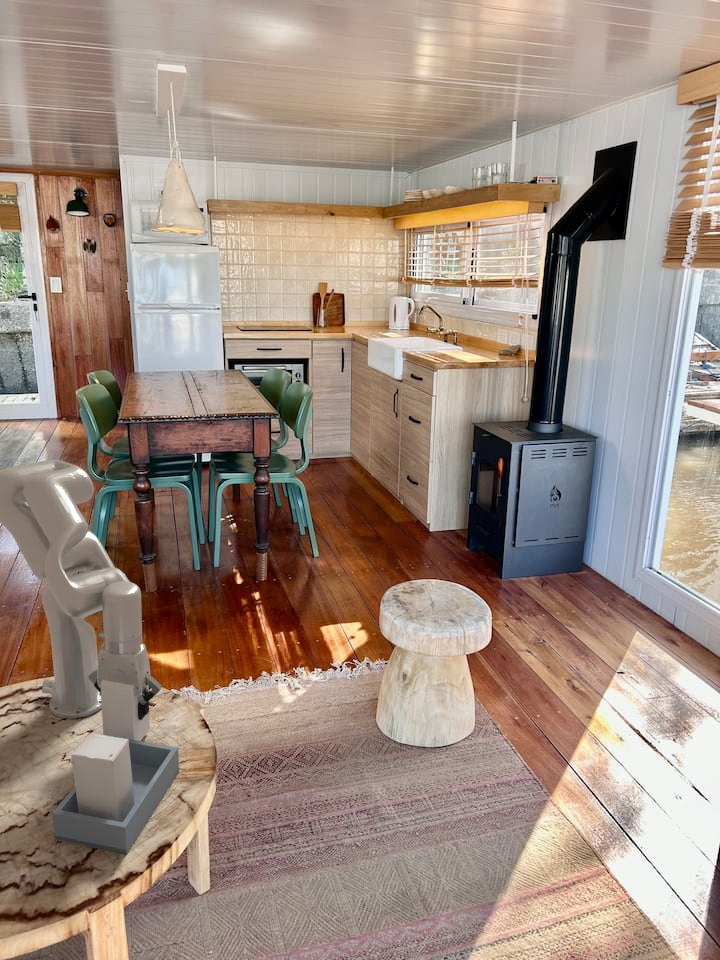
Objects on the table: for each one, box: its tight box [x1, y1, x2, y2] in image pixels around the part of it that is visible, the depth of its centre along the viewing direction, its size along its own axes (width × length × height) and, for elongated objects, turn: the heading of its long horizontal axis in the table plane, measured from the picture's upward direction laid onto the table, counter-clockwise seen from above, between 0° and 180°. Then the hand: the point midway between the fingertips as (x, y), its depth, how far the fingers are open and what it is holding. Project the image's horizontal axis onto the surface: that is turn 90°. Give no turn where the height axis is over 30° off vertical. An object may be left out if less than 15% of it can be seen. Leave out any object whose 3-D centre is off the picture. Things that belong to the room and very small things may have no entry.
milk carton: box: [101, 680, 151, 741], centre depth 156 cm, size 7×7×19 cm
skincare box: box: [70, 732, 135, 822], centre depth 135 cm, size 8×7×16 cm
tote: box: [51, 736, 180, 855], centre depth 141 cm, size 14×22×6 cm, turn 169°
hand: (126, 712), depth 157 cm, fingers closed on milk carton, 7 cm apart
